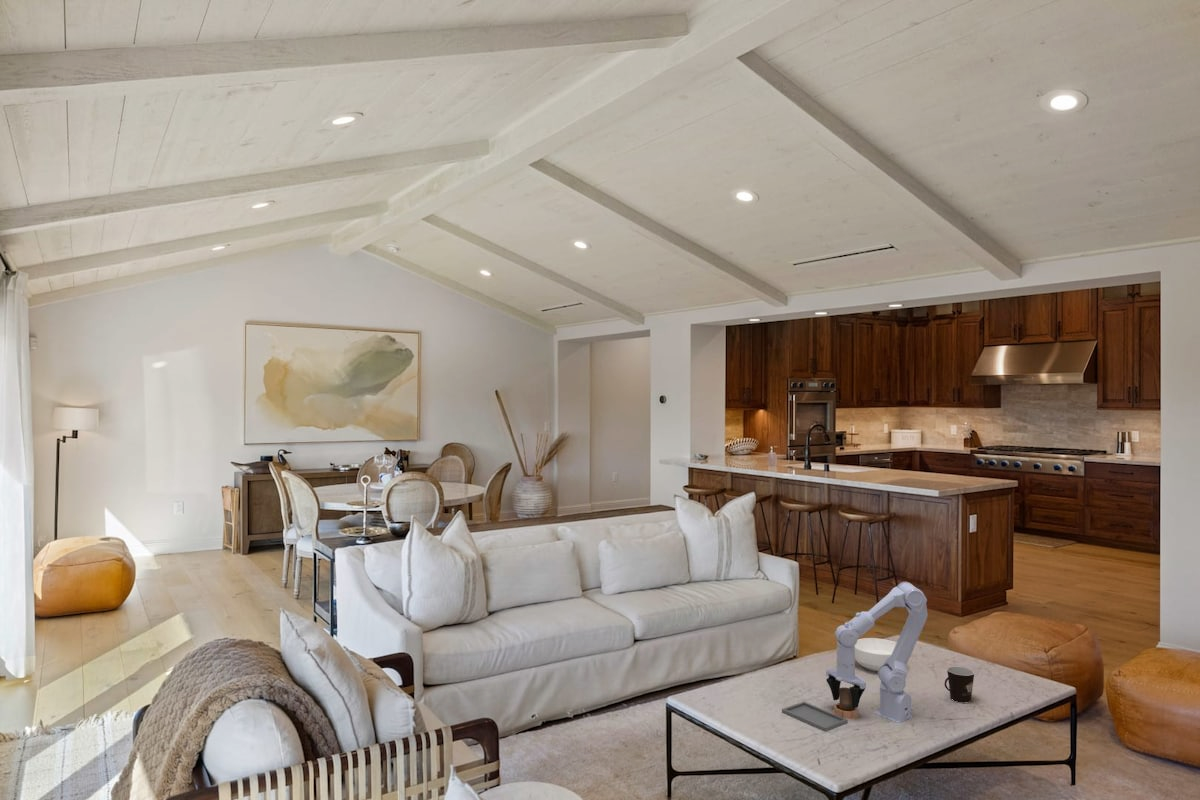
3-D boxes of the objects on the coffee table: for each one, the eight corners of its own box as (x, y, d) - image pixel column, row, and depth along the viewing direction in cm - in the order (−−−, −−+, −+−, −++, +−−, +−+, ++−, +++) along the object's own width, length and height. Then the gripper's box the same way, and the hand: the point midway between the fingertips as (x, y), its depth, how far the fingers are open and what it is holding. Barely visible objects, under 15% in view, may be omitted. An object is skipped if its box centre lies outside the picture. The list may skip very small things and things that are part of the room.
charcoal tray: (847, 724, 252) (847, 719, 252) (825, 732, 245) (825, 728, 245) (803, 705, 266) (803, 701, 266) (781, 713, 260) (781, 709, 260)
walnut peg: (854, 714, 258) (854, 690, 258) (846, 717, 256) (846, 693, 256) (844, 710, 262) (844, 686, 261) (836, 713, 259) (836, 689, 259)
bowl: (900, 680, 289) (900, 657, 289) (846, 670, 300) (846, 648, 299) (909, 664, 306) (909, 643, 306) (858, 655, 316) (858, 635, 316)
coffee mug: (966, 694, 276) (966, 666, 276) (979, 704, 267) (979, 675, 267) (934, 695, 275) (934, 666, 275) (945, 704, 267) (945, 675, 267)
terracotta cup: (864, 716, 258) (864, 708, 258) (848, 722, 253) (848, 714, 253) (843, 707, 265) (843, 700, 265) (827, 713, 260) (827, 706, 260)
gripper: (820, 658, 262) (820, 699, 262) (856, 671, 250) (856, 713, 251) (833, 654, 266) (833, 694, 266) (870, 667, 254) (869, 708, 255)
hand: (845, 703), depth 259 cm, fingers open, 7 cm apart
